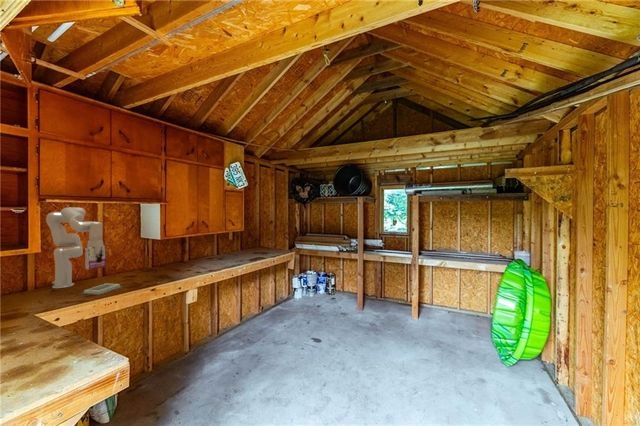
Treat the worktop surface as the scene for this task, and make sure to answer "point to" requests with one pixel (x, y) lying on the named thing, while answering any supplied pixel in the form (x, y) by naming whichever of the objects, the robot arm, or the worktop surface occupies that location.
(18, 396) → the worktop surface
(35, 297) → the worktop surface
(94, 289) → the light blue tray
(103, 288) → the rubber mat
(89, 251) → the candy bar box
